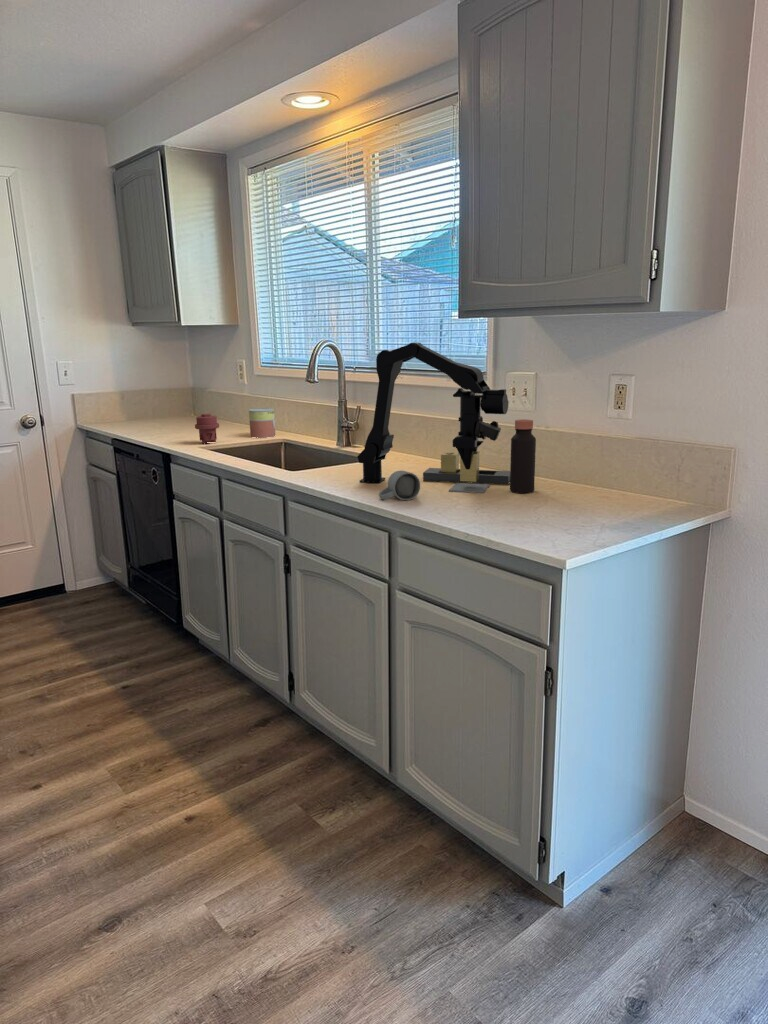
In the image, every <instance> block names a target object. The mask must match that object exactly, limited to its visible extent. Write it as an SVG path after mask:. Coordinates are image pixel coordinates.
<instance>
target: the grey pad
mask: <svg viewBox="0 0 768 1024" xmlns="http://www.w3.org/2000/svg"><path fill="white" fill-rule="evenodd" d="M490 485H491V484H485V483H463V482H455V484H453V486H452V487H451V488H449V489H448V492H450V491H457V492H456V493H470V492H475V494H485V492H486V491H487V490H488V489H489V487H490ZM487 488H488V489H487Z"/></svg>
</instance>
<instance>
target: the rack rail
mask: <svg viewBox="0 0 768 1024" xmlns="http://www.w3.org/2000/svg"><path fill="white" fill-rule="evenodd" d="M425 480H426V481H425ZM422 481H424V482H441V481H449V482H448V483H463V482H470V481H460V468H459V473H441V467H439V468H438V467H429V468H427V469H426V470H424V471H423V472H422ZM509 482H510V470H494V469H493V470H492V469H479V479H478V480H477V481H476V482H472V483H471V482H470V483H469V484H485V483H494V484H493V485H507V484H508V483H509ZM509 484H510V483H509ZM509 484H508V485H509Z"/></svg>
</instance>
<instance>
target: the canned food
mask: <svg viewBox="0 0 768 1024" xmlns="http://www.w3.org/2000/svg"><path fill="white" fill-rule="evenodd" d="M248 415H249V416H248V419H249V431H250V436H251V437H258V438H257V439H268V438H267V437H271V438H275V437H276V436H277V435H276V422H275V419H276V418H275V417H276V416H275V408H251V409H248ZM275 435H276V436H275ZM274 436H275V437H274ZM251 437H250V438H251Z"/></svg>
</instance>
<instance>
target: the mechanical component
mask: <svg viewBox="0 0 768 1024" xmlns="http://www.w3.org/2000/svg"><path fill="white" fill-rule="evenodd" d="M217 417H218V416H216V415H212V414H211V413H203V414H202V413H201V415H200V416H198V415H197V416H196V419H195V420H196V424H194V428H195V429H196V430H198V432H199V433H198V435H199V440H200V441H201V444H202V443H207V442H216V443H217V440H218V439H217V429H219V428H220V423H219V422H218V419H217Z"/></svg>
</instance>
